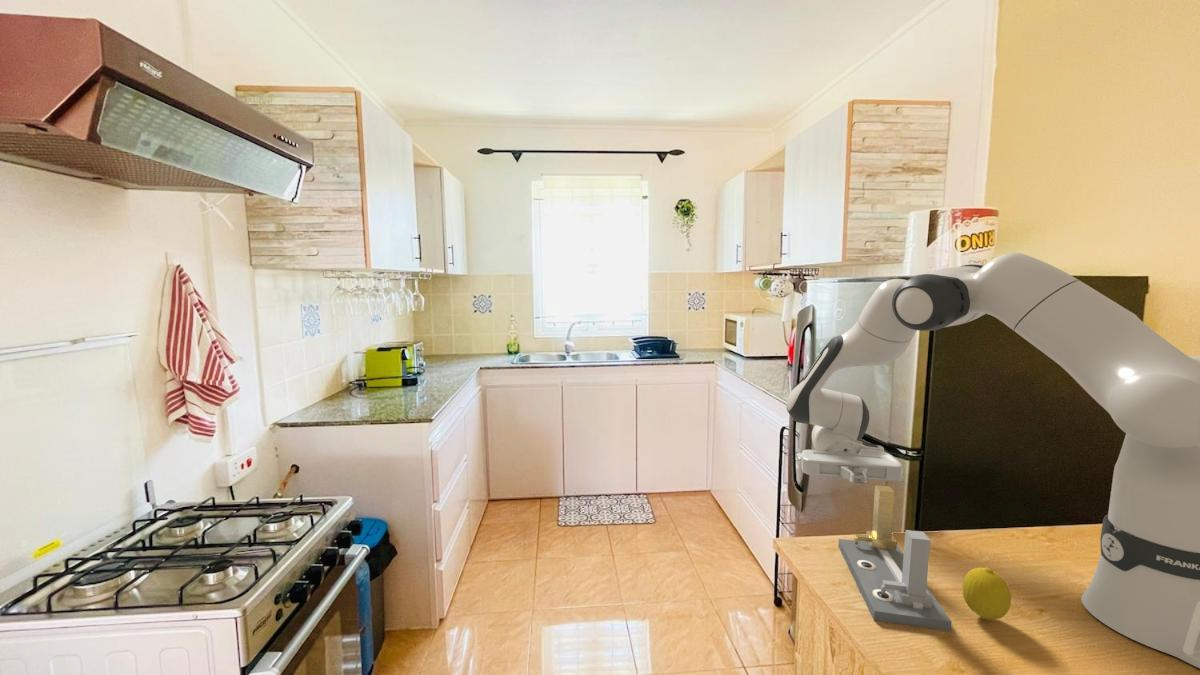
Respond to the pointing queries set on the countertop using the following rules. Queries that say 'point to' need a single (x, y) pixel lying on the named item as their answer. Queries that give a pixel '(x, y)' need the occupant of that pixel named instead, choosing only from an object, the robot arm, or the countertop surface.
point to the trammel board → (896, 581)
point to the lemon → (986, 593)
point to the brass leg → (881, 520)
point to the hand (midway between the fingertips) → (859, 479)
